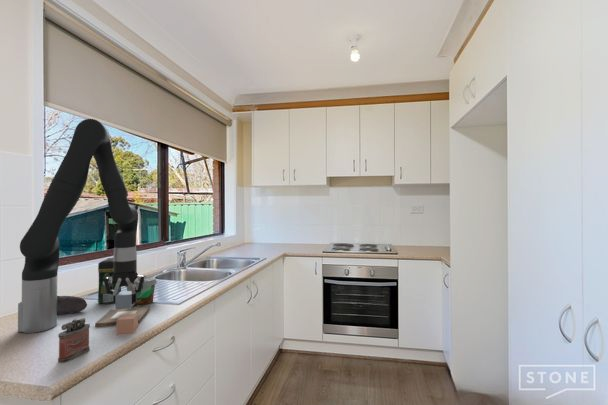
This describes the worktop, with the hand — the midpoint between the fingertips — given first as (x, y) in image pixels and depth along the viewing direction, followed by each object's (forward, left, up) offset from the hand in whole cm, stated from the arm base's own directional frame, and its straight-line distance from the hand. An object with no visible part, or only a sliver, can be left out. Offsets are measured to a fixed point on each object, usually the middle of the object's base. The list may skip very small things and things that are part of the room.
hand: (125, 303), depth 114 cm
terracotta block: (+5, -13, -5) cm, 15 cm away
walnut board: (0, 0, -5) cm, 5 cm away
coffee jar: (-13, +23, -5) cm, 27 cm away
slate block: (0, 0, -1) cm, 1 cm away
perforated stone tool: (-24, +10, -5) cm, 27 cm away
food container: (+1, +15, -5) cm, 16 cm away
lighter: (-4, -28, -5) cm, 29 cm away
